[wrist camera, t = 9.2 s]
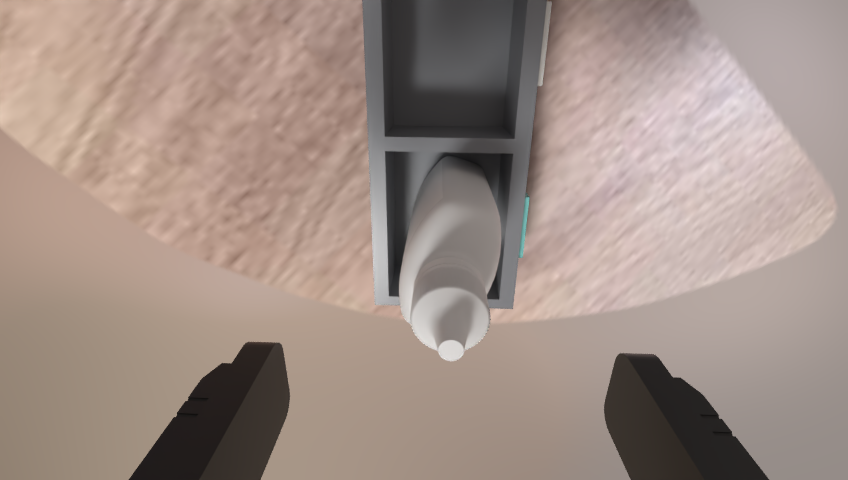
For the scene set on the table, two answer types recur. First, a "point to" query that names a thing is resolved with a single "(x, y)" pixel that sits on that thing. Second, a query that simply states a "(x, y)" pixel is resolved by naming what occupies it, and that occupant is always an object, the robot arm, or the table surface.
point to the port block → (450, 115)
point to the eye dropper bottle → (450, 258)
